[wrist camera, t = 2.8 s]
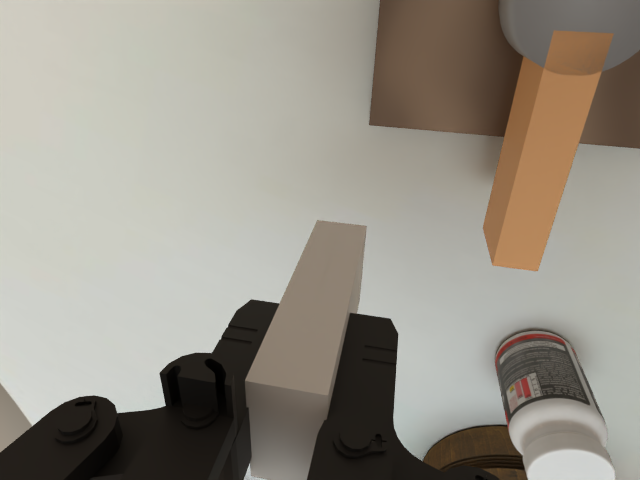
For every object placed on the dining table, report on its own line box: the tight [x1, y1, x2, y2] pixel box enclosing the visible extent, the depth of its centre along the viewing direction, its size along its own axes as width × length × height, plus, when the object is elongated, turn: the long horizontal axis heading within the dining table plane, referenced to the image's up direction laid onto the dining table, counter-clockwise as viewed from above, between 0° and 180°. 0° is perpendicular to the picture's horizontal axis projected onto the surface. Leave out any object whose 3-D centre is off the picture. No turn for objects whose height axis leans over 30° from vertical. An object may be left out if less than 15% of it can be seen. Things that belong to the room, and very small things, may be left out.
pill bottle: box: [495, 331, 615, 480], centre depth 30 cm, size 6×6×10 cm
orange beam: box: [483, 0, 640, 271], centre depth 19 cm, size 14×5×4 cm, turn 178°
